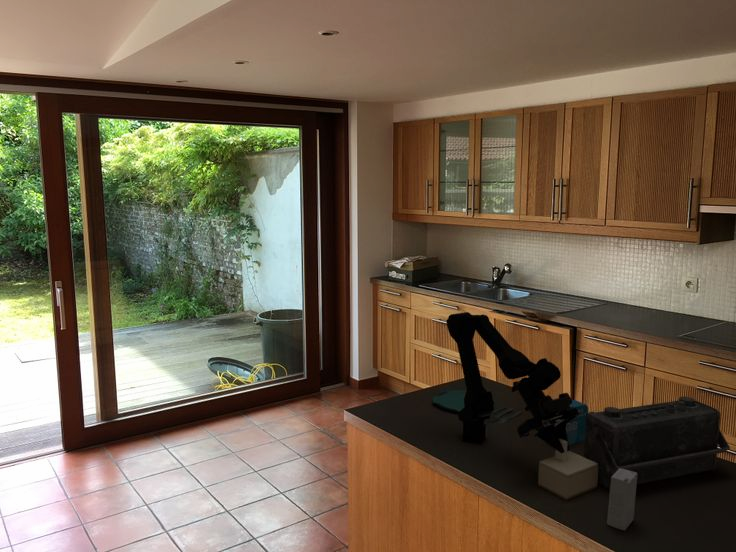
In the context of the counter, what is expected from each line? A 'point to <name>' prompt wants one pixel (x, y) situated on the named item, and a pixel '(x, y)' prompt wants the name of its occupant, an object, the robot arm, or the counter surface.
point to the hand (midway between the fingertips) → (565, 451)
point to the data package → (577, 424)
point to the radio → (654, 440)
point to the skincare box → (622, 499)
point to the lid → (568, 462)
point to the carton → (567, 482)
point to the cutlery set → (456, 403)
